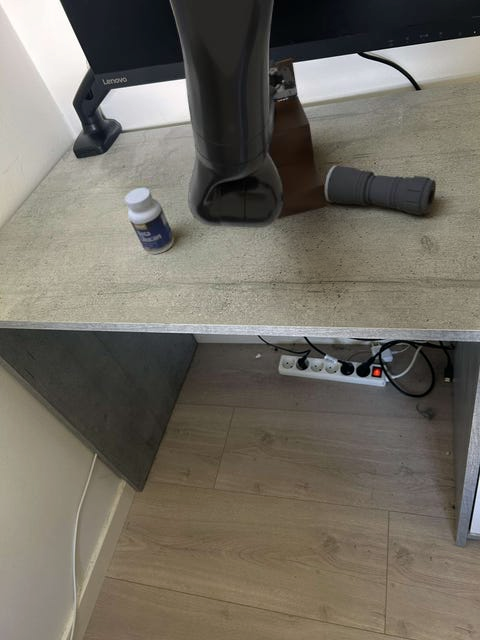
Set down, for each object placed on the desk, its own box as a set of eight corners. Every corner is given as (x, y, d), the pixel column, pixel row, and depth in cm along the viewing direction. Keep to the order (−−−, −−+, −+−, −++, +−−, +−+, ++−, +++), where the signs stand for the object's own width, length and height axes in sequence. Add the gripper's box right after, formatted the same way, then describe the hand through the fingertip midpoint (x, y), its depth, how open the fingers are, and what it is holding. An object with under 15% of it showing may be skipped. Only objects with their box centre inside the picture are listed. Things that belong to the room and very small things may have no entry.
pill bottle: (144, 258, 79) (119, 210, 72) (144, 238, 83) (120, 190, 76) (175, 249, 79) (154, 199, 72) (174, 230, 83) (153, 180, 76)
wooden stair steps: (305, 147, 90) (291, 57, 78) (327, 205, 77) (315, 108, 66) (232, 167, 92) (208, 82, 80) (241, 227, 79) (215, 136, 67)
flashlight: (438, 201, 72) (440, 169, 68) (426, 224, 69) (427, 192, 65) (340, 188, 79) (337, 158, 75) (326, 208, 77) (322, 178, 73)
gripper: (294, 84, 61) (294, 34, 72) (185, 106, 64) (201, 55, 75) (303, 139, 66) (301, 85, 77) (202, 157, 70) (214, 103, 81)
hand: (252, 70), depth 76 cm, fingers closed on beverage can, 5 cm apart
